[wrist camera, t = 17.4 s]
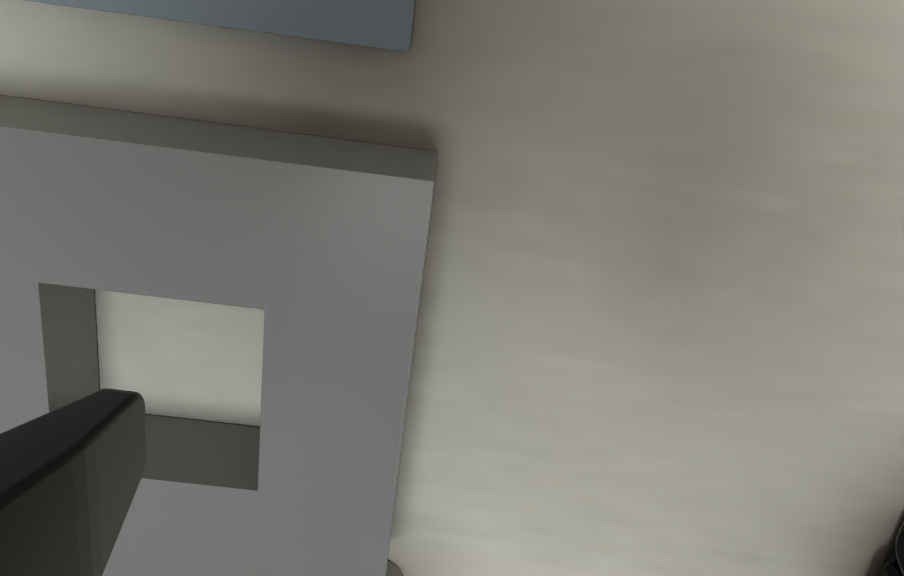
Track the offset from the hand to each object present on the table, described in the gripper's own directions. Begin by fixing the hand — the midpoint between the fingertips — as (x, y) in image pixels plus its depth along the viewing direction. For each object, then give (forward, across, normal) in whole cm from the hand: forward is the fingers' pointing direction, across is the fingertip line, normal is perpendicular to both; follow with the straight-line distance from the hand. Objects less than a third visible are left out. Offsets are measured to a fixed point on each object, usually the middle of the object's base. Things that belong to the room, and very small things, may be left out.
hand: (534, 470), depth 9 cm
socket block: (+13, +8, +8) cm, 17 cm away
